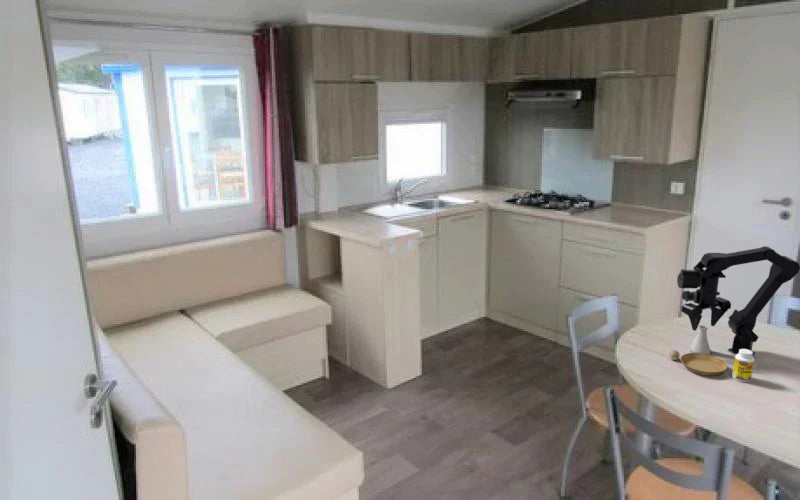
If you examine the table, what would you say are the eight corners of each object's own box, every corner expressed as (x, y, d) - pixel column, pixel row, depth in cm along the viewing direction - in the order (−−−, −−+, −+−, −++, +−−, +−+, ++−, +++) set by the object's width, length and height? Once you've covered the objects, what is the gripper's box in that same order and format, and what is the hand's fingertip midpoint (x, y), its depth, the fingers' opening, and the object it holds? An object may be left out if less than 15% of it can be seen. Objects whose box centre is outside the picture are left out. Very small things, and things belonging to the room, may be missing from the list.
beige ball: (673, 356, 214) (674, 347, 213) (681, 360, 211) (682, 351, 210) (666, 358, 213) (667, 349, 212) (673, 362, 210) (675, 353, 209)
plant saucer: (709, 382, 196) (710, 375, 195) (670, 365, 208) (671, 358, 208) (735, 371, 203) (736, 365, 202) (696, 355, 215) (697, 349, 215)
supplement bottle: (734, 381, 196) (738, 353, 193) (730, 373, 201) (734, 346, 198) (752, 383, 194) (757, 355, 192) (748, 376, 200) (753, 348, 197)
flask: (713, 356, 214) (716, 331, 211) (692, 355, 215) (695, 330, 213) (707, 347, 221) (710, 323, 218) (686, 346, 222) (690, 322, 219)
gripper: (708, 278, 222) (703, 316, 226) (671, 285, 215) (666, 324, 219) (734, 287, 212) (728, 326, 216) (696, 294, 205) (691, 335, 209)
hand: (703, 328), depth 215 cm, fingers open, 9 cm apart
